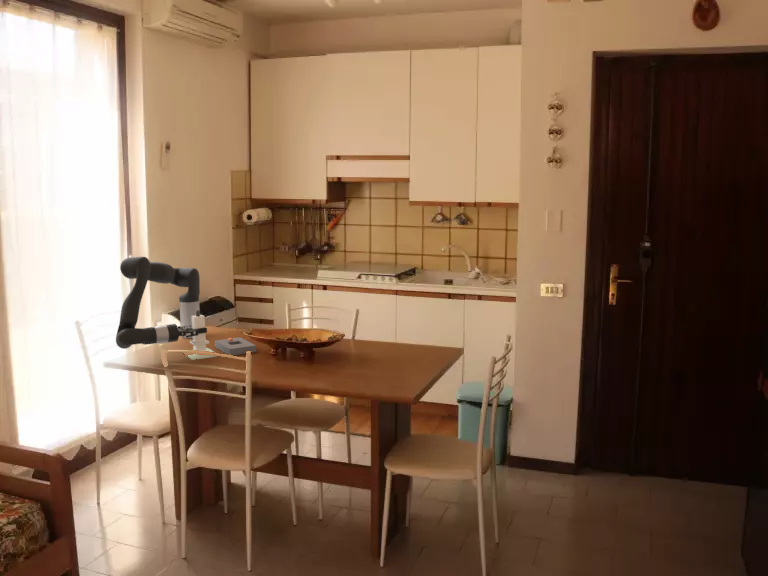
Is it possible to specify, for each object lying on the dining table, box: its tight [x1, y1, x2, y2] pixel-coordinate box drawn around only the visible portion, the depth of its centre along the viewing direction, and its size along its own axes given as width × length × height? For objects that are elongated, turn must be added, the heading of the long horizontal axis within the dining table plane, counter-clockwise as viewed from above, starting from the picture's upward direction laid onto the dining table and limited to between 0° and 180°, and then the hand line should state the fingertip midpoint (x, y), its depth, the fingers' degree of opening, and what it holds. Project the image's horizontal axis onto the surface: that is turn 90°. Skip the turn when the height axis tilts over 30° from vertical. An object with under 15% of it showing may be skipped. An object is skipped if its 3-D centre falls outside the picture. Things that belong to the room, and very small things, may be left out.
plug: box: [189, 309, 210, 351], centre depth 337 cm, size 7×7×18 cm
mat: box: [187, 347, 217, 361], centre depth 338 cm, size 16×12×1 cm
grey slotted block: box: [214, 336, 257, 356], centre depth 346 cm, size 20×12×4 cm, turn 30°
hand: (204, 329), depth 338 cm, fingers closed on plug, 4 cm apart
